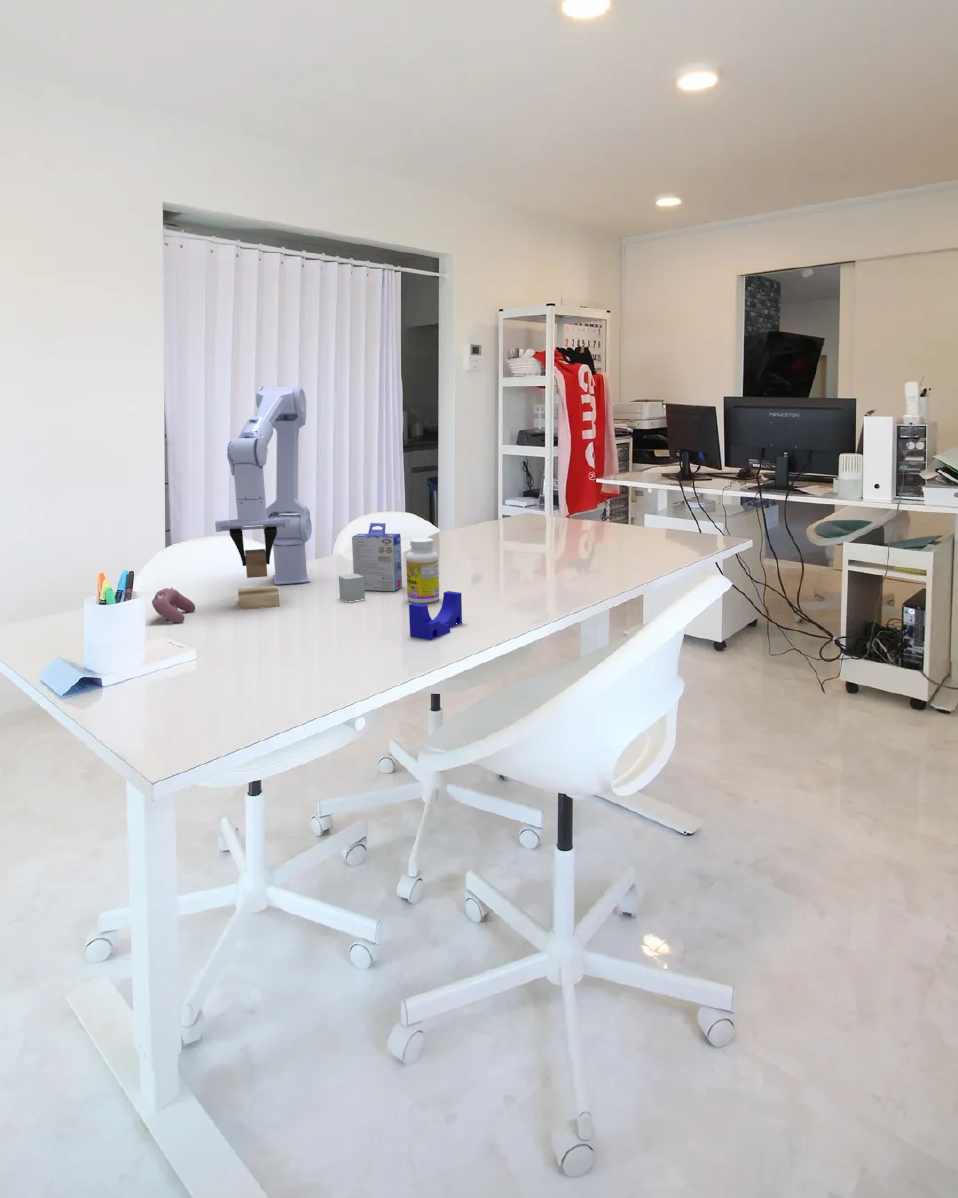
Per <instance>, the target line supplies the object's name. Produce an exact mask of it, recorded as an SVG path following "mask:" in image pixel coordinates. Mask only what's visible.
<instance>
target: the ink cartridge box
mask: <svg viewBox="0 0 958 1198" xmlns="http://www.w3.org/2000/svg"><path fill="white" fill-rule="evenodd" d="M375 527H380V528H382V529H373V528H375ZM351 542H352V543H351V544H352V545H351V546H352V566H353V567H352V570H353V571H352V572H353V573H352V574H358V575H361V576H363V577H364V588H365V591H374V592H375V591H380V592H396V591H397V590H400V589H401V588H403V578H402V577H403V573H402V569H403V568H402V567H403V566H402V545H401V542H402V541H401V533H386V523H385V522H383V523H382V522H380V523H379V522H377V523H376V522H370V525H369V529H368V533H357V534H355V535H353V536H352V537H351Z"/></svg>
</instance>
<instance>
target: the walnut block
mask: <svg viewBox="0 0 958 1198" xmlns="http://www.w3.org/2000/svg"><path fill="white" fill-rule="evenodd" d="M244 552H245V558H246V566H245V567H246V568H245V569H246V571H245V572H246V578H248V579H249V578H251V579H252V578H265V577H266V578H267V577H268V567H267V566H268V564H266V552H265V548H259V549H244Z"/></svg>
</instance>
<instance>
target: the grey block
mask: <svg viewBox="0 0 958 1198" xmlns="http://www.w3.org/2000/svg"><path fill="white" fill-rule="evenodd" d="M338 587H339V599H340V600H341V599H343V600H345V601H347V602H348V603H350V602H349V601H355V600H361V599H365V600H366V594H365V593H366V592H365V591H366V590H365V588H364V577H363V576H361V575H358V574H354V573H352V574H345V575H338ZM343 600H342V601H343ZM345 601H344V602H345ZM347 602H346V603H347ZM355 602H356V601H355Z"/></svg>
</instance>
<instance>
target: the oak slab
mask: <svg viewBox="0 0 958 1198" xmlns="http://www.w3.org/2000/svg"><path fill="white" fill-rule="evenodd" d="M237 595H238V596H237V597H238V598H237V599H238V610H239V609H242V610H251V609H250V608H255V609H262V608H261V607H267V608H278V607H281V603H280V593H279V587H278V585H271V586H270V585H269V586H268V585H267V586H257V587H256V586H255V587H242V588H237Z"/></svg>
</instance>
